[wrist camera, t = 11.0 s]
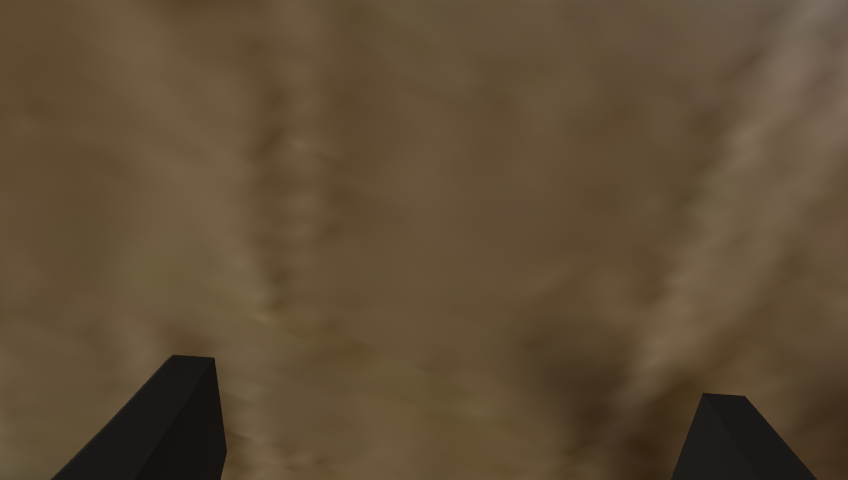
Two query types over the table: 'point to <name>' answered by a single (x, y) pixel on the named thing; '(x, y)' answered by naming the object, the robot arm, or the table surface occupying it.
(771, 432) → the robot arm
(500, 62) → the table surface
